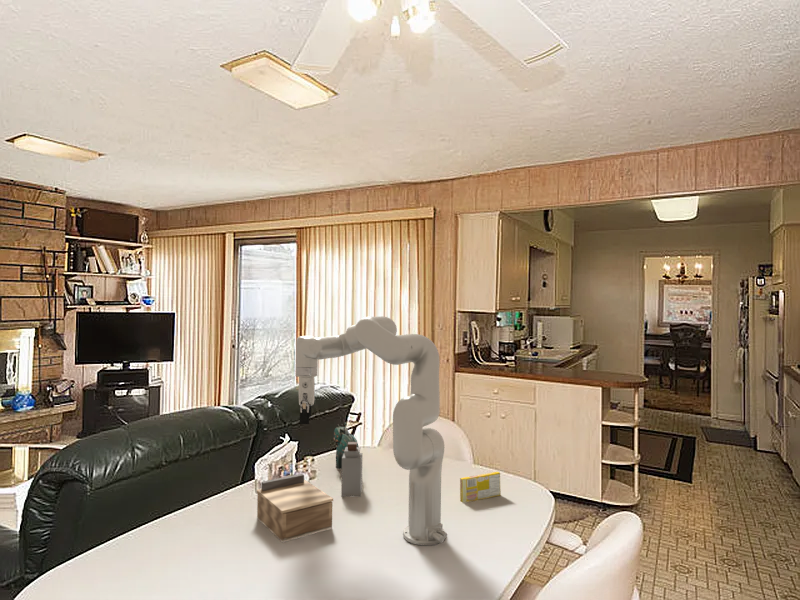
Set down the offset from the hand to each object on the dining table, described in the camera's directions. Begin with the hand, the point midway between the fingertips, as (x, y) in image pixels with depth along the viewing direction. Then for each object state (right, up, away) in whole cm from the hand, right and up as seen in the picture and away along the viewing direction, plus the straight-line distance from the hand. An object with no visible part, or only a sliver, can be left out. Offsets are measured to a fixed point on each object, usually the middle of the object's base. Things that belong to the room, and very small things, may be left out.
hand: (305, 420), depth 181 cm
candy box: (+62, -29, +3) cm, 68 cm away
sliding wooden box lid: (0, -19, -19) cm, 27 cm away
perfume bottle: (+16, -28, +7) cm, 33 cm away
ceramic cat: (+12, -28, +29) cm, 42 cm away
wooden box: (0, -28, -20) cm, 34 cm away
